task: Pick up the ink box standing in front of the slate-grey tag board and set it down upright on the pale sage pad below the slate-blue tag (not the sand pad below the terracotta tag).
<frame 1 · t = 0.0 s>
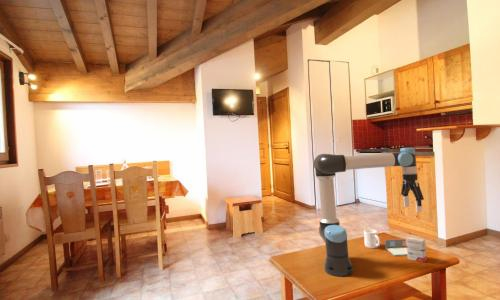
hand: (412, 209, 155), 28 cm above the table, fingers open, 13 cm apart
mug: (373, 247, 174), on the table
ink box: (417, 259, 151), on the table
tag board: (403, 251, 163), on the table
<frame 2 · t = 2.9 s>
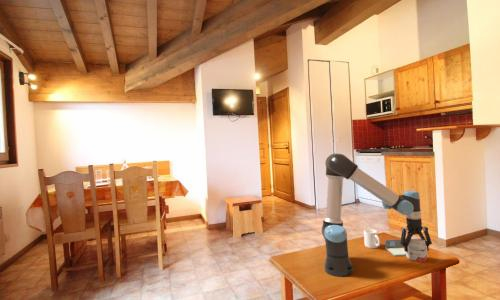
hand: (417, 256, 151), 1 cm above the table, fingers closed on ink box, 9 cm apart
ink box: (417, 259, 151), on the table, touching gripper
everything else where it was.
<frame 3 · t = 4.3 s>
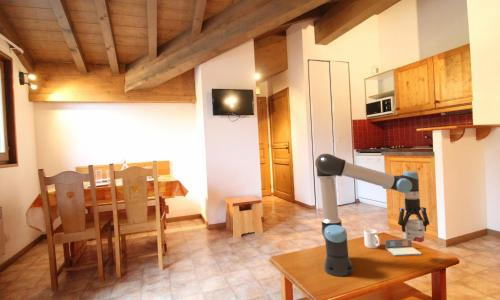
hand: (414, 237, 151), 13 cm above the table, fingers closed on ink box, 9 cm apart
ink box: (414, 240, 151), point 11 cm above the table, touching gripper
everything else where it was.
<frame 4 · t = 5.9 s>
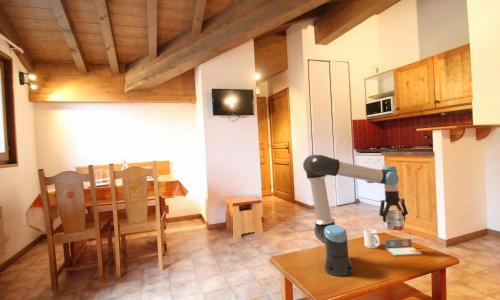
hand: (394, 226, 163), 16 cm above the table, fingers closed on ink box, 9 cm apart
ink box: (394, 229, 163), point 14 cm above the table, touching gripper
everything else where it was.
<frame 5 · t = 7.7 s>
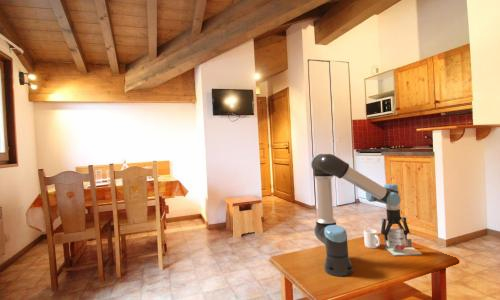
hand: (396, 245, 163), 5 cm above the table, fingers closed on ink box, 9 cm apart
ink box: (396, 247, 163), point 3 cm above the table, touching gripper
everything else where it was.
when the fingers open (3 cm above the table, at t = 8.9 s): ink box moves 1 cm, resting on tag board.
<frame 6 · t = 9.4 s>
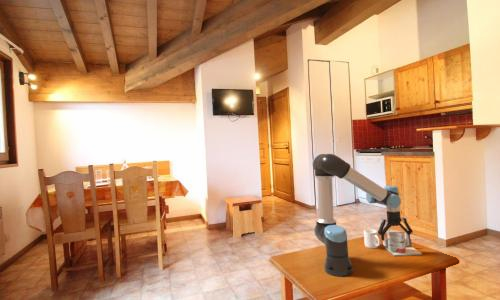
hand: (396, 244, 163), 5 cm above the table, fingers open, 13 cm apart
ink box: (397, 251, 163), point 1 cm above the table, touching tag board
everything else where it was.
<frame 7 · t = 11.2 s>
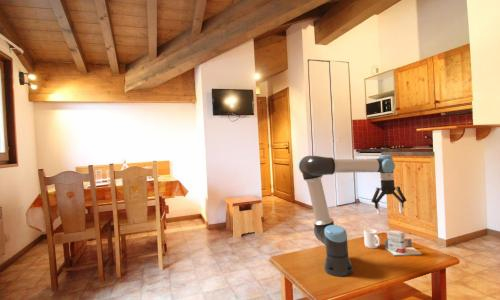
hand: (389, 213, 164), 24 cm above the table, fingers open, 13 cm apart
nothing on the table moved.
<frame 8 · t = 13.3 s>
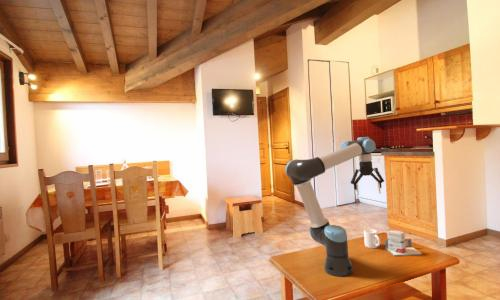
hand: (368, 194, 168), 37 cm above the table, fingers open, 13 cm apart
nothing on the table moved.
at the end: ink box inside the target area on the tag board (0.4 cm from its centre), point 0.8 cm above the tag board's base; ink box tilted 0°; the gripper is holding nothing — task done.
